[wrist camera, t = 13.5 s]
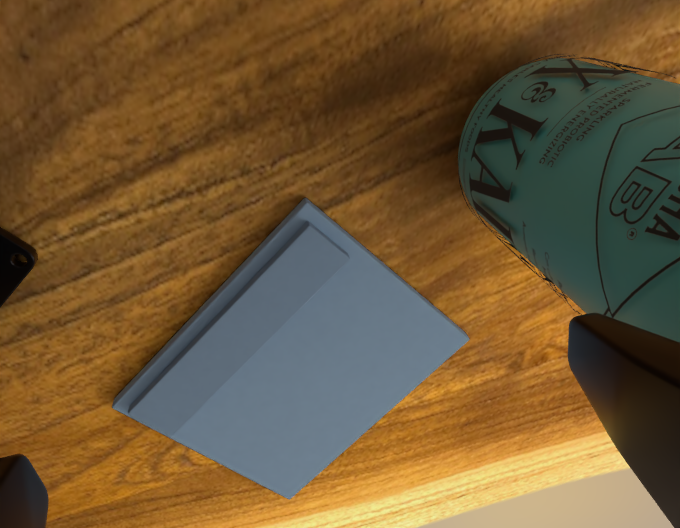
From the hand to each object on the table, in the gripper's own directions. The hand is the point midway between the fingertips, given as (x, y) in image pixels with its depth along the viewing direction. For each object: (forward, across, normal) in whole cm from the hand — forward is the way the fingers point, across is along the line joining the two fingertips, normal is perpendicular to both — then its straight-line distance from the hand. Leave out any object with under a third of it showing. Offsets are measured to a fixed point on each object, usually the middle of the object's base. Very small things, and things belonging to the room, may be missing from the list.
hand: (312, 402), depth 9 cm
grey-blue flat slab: (+13, +1, +9) cm, 16 cm away
